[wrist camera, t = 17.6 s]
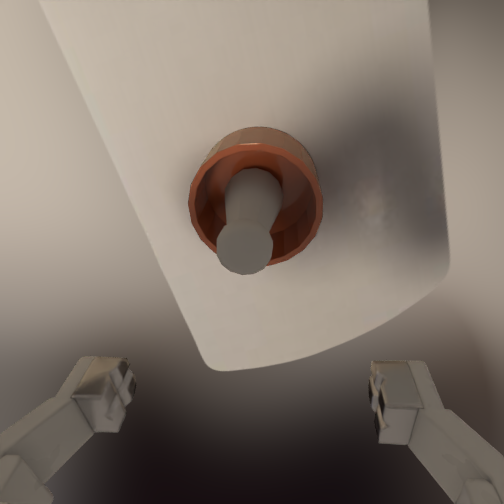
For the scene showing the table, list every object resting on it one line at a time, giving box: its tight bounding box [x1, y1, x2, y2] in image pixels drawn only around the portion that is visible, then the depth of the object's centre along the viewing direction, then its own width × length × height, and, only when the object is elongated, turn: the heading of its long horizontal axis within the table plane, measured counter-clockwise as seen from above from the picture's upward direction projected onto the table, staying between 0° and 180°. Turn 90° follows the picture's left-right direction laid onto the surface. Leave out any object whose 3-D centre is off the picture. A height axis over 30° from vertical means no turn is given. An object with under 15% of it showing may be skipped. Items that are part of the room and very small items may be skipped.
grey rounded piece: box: [217, 168, 284, 275], centre depth 31 cm, size 6×6×13 cm
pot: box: [188, 127, 323, 266], centre depth 34 cm, size 12×12×6 cm
